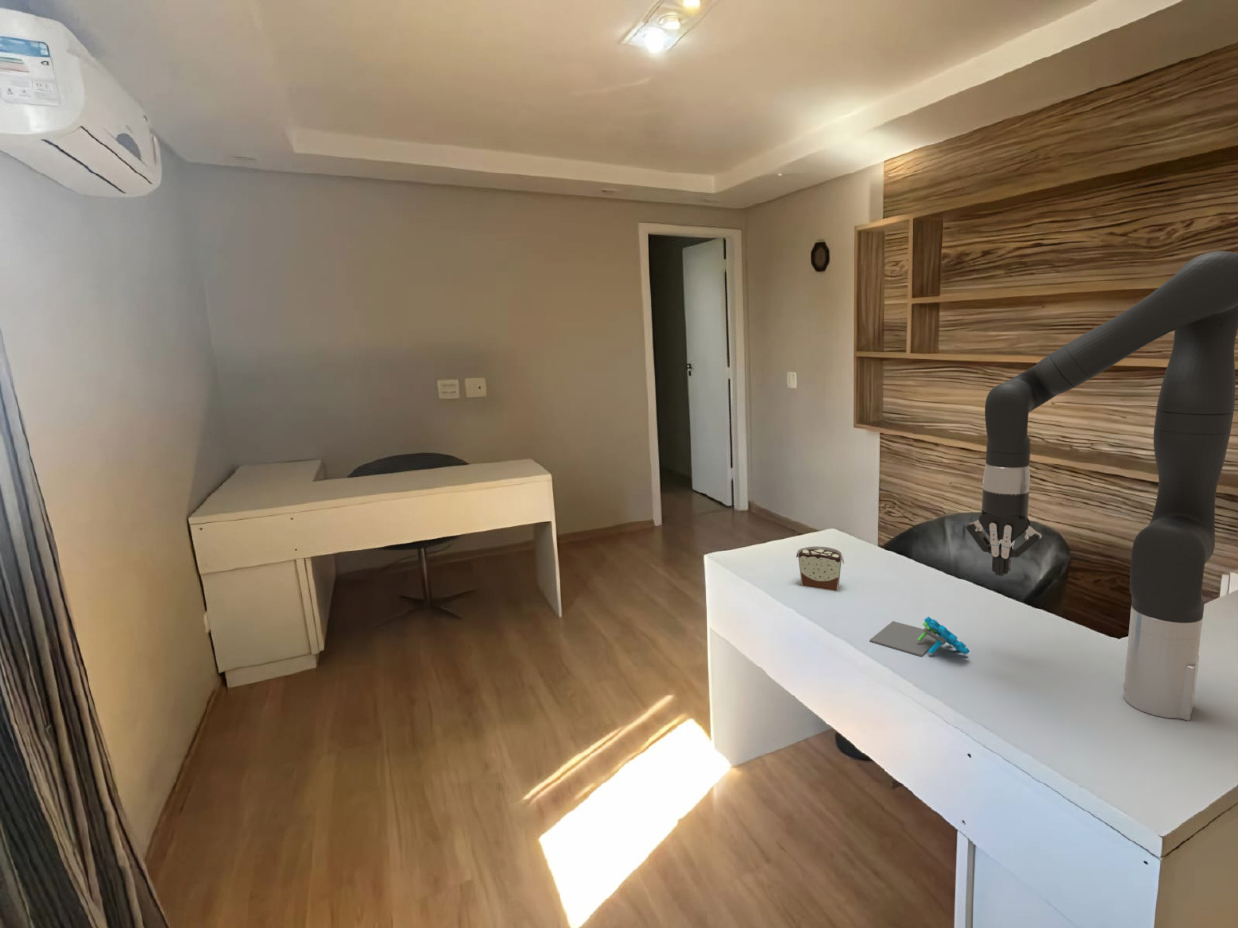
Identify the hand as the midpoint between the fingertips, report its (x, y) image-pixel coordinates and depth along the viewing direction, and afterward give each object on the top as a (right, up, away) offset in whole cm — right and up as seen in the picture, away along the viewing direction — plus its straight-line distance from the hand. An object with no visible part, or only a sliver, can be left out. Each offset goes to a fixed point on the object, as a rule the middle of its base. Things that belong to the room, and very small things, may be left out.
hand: (1000, 574), depth 124 cm
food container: (-19, -11, +48) cm, 53 cm away
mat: (-11, -17, +16) cm, 26 cm away
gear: (-4, -19, +10) cm, 22 cm away
